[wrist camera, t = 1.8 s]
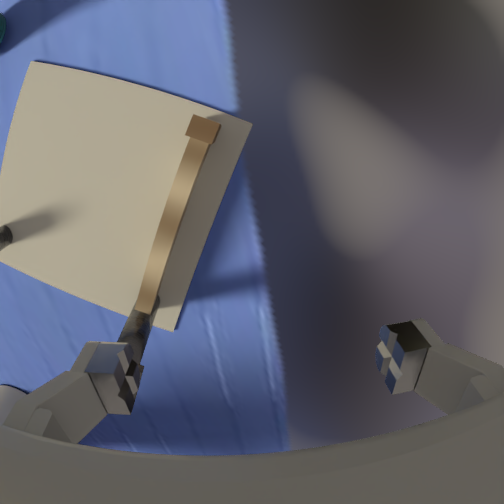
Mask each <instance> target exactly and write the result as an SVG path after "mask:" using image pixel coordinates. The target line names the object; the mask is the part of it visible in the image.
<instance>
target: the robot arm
mask: <svg viewBox="0 0 504 504" xmlns="http://www.w3.org/2000/svg"><path fill="white" fill-rule="evenodd" d="M379 336H380V338H381V340H382V341H381V343H380V344H379V345H378V346H377V350H376V363H377V367H378V369H379V371H380V373H382V374H384V375H385V376H386V380H385V383H386V385H387V387H388V388H389V390H390V392H391V394H392V395H394V394H399V393H404V392H408V391H412V390H414V392H416V393H417V394H419V395H420V396H422V397H423V398H424V399H426V400H427V401H429V402H430V403H432V404H433V405H435V406H436V407H438V408H439V409H440V410H442V411H443V412H445V413H446V414H448V415H446V416H443V417H440V418H438V419H435V420H432V421H428V422H425V423H422V424H419V425H415V426H412V427H409V428H405V429H401V430H398V431H394V432H390V433H386V434H382V435H378V436H374V437H370V438H366V439H361V440H355V441H350V442H345V443H340V444H334V445H328V446H322V447H316V448H309V449H301V450H293V451H284V452H274V453H262V454H247V455H219V456H194V455H166V454H151V453H139V452H129V451H120V450H112V449H105V448H98V447H92V446H86V445H80V444H77V443H78V442H80V441H81V440H82V439H83V438H84V437H85V436H86V435H87V434H88V433H89V432H90V431H91V430H92V429H93V428H94V427H95V426H96V425H97V424H98V423H99V422H100V421H101V420H102V419H103V418H104V417H105V416H106V415H107V413H109V414H125V415H131V412H132V409H133V406H134V402H135V399H134V396H133V394H134V393H135V392H137V391H138V389H139V385H140V372H139V367H138V364H137V363H136V362H135V361H134V360H133V359H132V357H133V354H134V352H133V349H132V346H131V345H130V344H129V343H119V342H95V341H89V342H87V343H86V344H85V345H84V347H83V349H82V351H81V352H80V354H79V356H78V358H77V359H76V361H75V363H74V365H73V366H72V368H71V370H70V371H65V372H63V373H62V374H60V375H59V376H57V377H55V378H54V379H52V380H50V381H49V382H47V383H46V384H44V385H42V386H41V387H39V388H38V389H36V390H34V391H33V392H31V393H29V394H28V395H27V394H25V393H24V392H22V391H20V390H18V389H15V388H13V387H10V386H5V385H0V504H504V368H503V367H502V366H501V365H499V364H496V363H494V362H492V361H489V360H487V359H484V358H482V357H480V356H477V355H475V354H472V353H470V352H468V351H465V350H463V349H461V348H458V347H456V346H453V345H451V344H449V343H448V344H444V342H443V341H442V340H441V339H440V338H439V337H438V335H437V334H436V333H435V332H434V330H433V329H432V328H431V327H430V326H429V325H428V323H427V322H426V321H425V320H424V319H422V318H420V319H415V320H410V321H407V322H402V323H397V324H389V325H383V326H382V328H381V330H380V334H379Z"/></svg>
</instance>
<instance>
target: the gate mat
mask: <svg viewBox="0 0 504 504" xmlns="http://www.w3.org/2000/svg"><path fill="white" fill-rule="evenodd" d="M193 114H195V115H197V116H200V117H203V118H206V119H209V120H212V121H214V122H217V123H220V124H221V129H220V131H219V133H218V136H217V138H216V141H215V143H213V144H212V145H211V146H210V148H209V151H208V153H207V156H206V158H205V161H204V163H203V166H202V169H201V171H200V174H199V176H198V179H197V182H196V184H195V187H194V190H193V192H192V195H191V198H190V201H189V203H188V206H187V209H186V212H185V214H184V217H183V220H182V223H181V226H180V229H179V232H178V235H177V237H176V240H175V243H174V246H173V249H172V252H171V255H170V258H169V261H168V265H167V268H166V271H165V274H164V277H163V280H162V283H161V287H160V290H159V293H158V296H159V298H160V305H159V308H158V311H157V313H156V316H155V319H154V322H153V326H156V327H159V328H162V329H165V330H168V331H171V332H173V331H174V328H175V325H176V322H177V319H178V316H179V314H180V311H181V308H182V305H183V302H184V299H185V297H186V294H187V291H188V288H189V285H190V283H191V280H192V277H193V274H194V272H195V269H196V266H197V263H198V261H199V258H200V255H201V253H202V250H203V247H204V245H205V242H206V239H207V237H208V234H209V232H210V229H211V226H212V224H213V221H214V219H215V216H216V213H217V211H218V208H219V206H220V203H221V201H222V198H223V196H224V193H225V191H226V188H227V186H228V183H229V181H230V178H231V176H232V173H233V171H234V168H235V166H236V164H237V161H238V159H239V156H240V154H241V151H242V149H243V147H244V144H245V142H246V140H247V137H248V135H249V132H250V130H251V128H252V125H253V124H252V123H250V122H247V121H245V120H242V119H239V118H237V117H234V116H232V115H229V114H226V113H224V112H221V111H218V110H215V109H213V108H210V107H207V106H204V105H201V104H198V103H195V102H193V101H190V100H187V99H184V98H181V97H177V96H174V95H171V94H168V93H165V92H162V91H158V90H155V89H152V88H148V87H145V86H141V85H138V84H134V83H130V82H127V81H123V80H119V79H115V78H111V77H107V76H103V75H99V74H95V73H91V72H86V71H82V70H77V69H72V68H67V67H62V66H57V65H52V64H46V63H40V62H34V61H31V63H30V65H29V68H28V71H27V73H26V76H25V79H24V82H23V85H22V88H21V91H20V94H19V98H18V101H17V104H16V108H15V111H14V115H13V119H12V122H11V126H10V130H9V135H8V139H7V143H6V148H5V153H4V158H3V163H2V168H1V174H0V227H1V226H3V225H5V226H7V227H9V228H10V230H11V232H12V235H13V240H12V243H11V244H10V245H8V246H7V247H5V248H4V249H2V250H1V251H0V261H1V262H3V263H5V264H7V265H9V266H11V267H13V268H15V269H17V270H19V271H21V272H23V273H25V274H27V275H29V276H32V277H34V278H36V279H38V280H40V281H42V282H45V283H47V284H49V285H51V286H54V287H56V288H58V289H60V290H63V291H65V292H67V293H70V294H72V295H75V296H77V297H79V298H82V299H84V300H87V301H89V302H92V303H94V304H97V305H99V306H102V307H104V308H107V309H109V310H112V311H115V312H117V313H120V314H123V315H125V316H128V317H129V315H130V313H131V311H132V309H133V306H134V304H135V302H136V300H137V298H138V294H139V291H140V287H141V283H142V280H143V276H144V273H145V269H146V266H147V262H148V259H149V255H150V252H151V249H152V245H153V242H154V239H155V236H156V232H157V229H158V226H159V223H160V220H161V217H162V214H163V211H164V208H165V205H166V202H167V199H168V196H169V193H170V190H171V187H172V185H173V182H174V179H175V176H176V173H177V171H178V168H179V165H180V162H181V160H182V157H183V154H184V152H185V149H186V147H187V144H188V141H189V139H190V137H189V136H186V135H185V133H186V131H187V128H188V126H189V123H190V121H191V118H192V116H193Z"/></svg>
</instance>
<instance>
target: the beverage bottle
mask: <svg viewBox="0 0 504 504" xmlns="http://www.w3.org/2000/svg"><path fill="white" fill-rule="evenodd" d="M5 30H6V20H5V17H4V16H3V15H2V14H1V13H0V43H1V42H2V39H3V37H4V34H5Z"/></svg>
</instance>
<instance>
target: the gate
mask: <svg viewBox="0 0 504 504" xmlns="http://www.w3.org/2000/svg"><path fill="white" fill-rule="evenodd" d="M220 129H221V124H220V123H217V122H214V121H212V120H209V119H206V118H203V117H200V116H197V115H195V114H193V116H192V118H191V121H190V123H189V126H188V128H187V131H186V133H185V135H186V136H189V137H190V139H189V141H188V144H187V147H186V149H185V152H184V154H183V157H182V160H181V162H180V165H179V168H178V171H177V173H176V176H175V179H174V182H173V185H172V187H171V190H170V193H169V196H168V199H167V202H166V205H165V208H164V211H163V214H162V217H161V220H160V223H159V226H158V229H157V232H156V236H155V239H154V242H153V245H152V249H151V252H150V255H149V259H148V262H147V266H146V269H145V273H144V276H143V280H142V283H141V287H140V291H139V294H138V298H137V302H136V306H135V310H138V311H141V312H144V313H146V314H149V315H150V314H151V311H152V309H153V306H154V303H155V301H156V298H157V295H158V293H159V290H160V287H161V283H162V280H163V277H164V274H165V271H166V268H167V265H168V261H169V258H170V255H171V252H172V249H173V246H174V243H175V240H176V237H177V235H178V232H179V229H180V226H181V223H182V220H183V217H184V214H185V212H186V209H187V206H188V203H189V201H190V198H191V195H192V192H193V190H194V187H195V184H196V182H197V179H198V176H199V174H200V171H201V169H202V166H203V163H204V161H205V158H206V156H207V153H208V151H209V148H210V146H211V145H212V144H213V143H215V141H216V138H217V136H218V133H219V131H220Z"/></svg>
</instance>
